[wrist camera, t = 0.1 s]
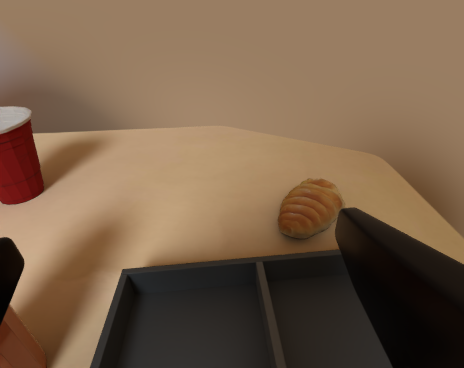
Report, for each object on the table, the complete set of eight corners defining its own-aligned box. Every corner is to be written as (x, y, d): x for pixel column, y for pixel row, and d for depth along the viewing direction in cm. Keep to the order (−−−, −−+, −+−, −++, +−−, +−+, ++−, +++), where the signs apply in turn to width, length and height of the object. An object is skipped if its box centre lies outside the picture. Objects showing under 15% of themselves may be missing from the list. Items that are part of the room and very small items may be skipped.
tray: (515, 470, 15) (549, 448, 13) (67, 528, 14) (41, 512, 12) (379, 270, 27) (388, 244, 25) (131, 294, 26) (122, 269, 24)
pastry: (317, 253, 29) (321, 225, 27) (262, 230, 33) (263, 204, 31) (346, 208, 36) (351, 183, 34) (297, 193, 39) (299, 169, 37)
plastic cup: (-39, 223, 37) (-99, 138, 30) (-3, 183, 46) (-44, 111, 39) (51, 208, 39) (12, 125, 33) (69, 172, 48) (41, 102, 42)
